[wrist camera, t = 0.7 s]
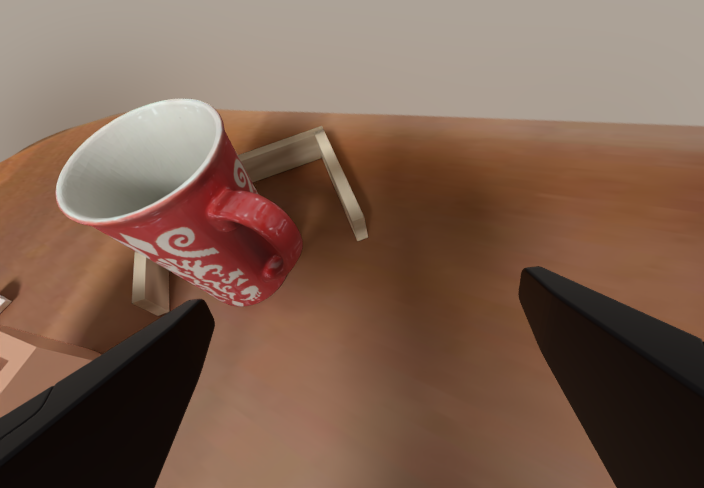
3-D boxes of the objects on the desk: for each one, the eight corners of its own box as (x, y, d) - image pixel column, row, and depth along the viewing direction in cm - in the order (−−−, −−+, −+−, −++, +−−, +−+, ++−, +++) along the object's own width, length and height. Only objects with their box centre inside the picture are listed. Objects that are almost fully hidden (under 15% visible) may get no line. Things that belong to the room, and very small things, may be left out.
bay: (368, 237, 27) (364, 217, 25) (157, 316, 26) (131, 303, 24) (328, 148, 34) (321, 125, 32) (159, 209, 33) (138, 190, 31)
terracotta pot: (91, 484, 21) (-93, 513, 13) (22, 445, 23) (-173, 450, 15) (154, 375, 24) (36, 347, 16) (89, 349, 26) (-43, 312, 18)
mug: (179, 290, 27) (18, 187, 16) (243, 213, 31) (149, 85, 20) (294, 361, 23) (183, 286, 11) (354, 261, 26) (314, 128, 15)
